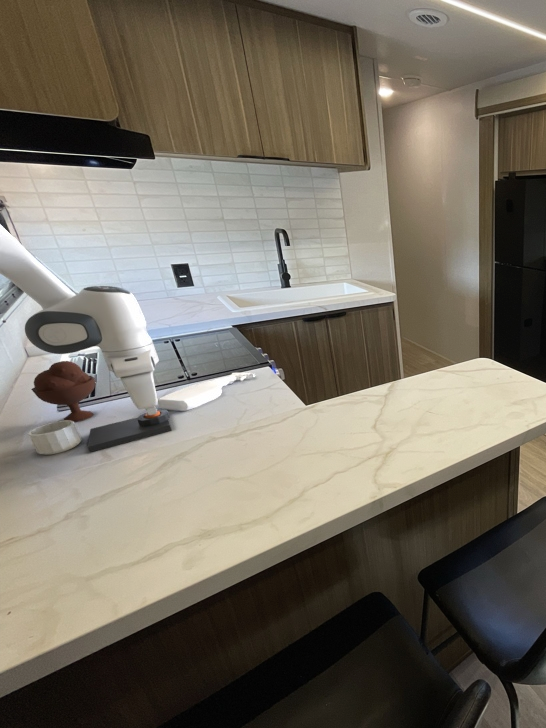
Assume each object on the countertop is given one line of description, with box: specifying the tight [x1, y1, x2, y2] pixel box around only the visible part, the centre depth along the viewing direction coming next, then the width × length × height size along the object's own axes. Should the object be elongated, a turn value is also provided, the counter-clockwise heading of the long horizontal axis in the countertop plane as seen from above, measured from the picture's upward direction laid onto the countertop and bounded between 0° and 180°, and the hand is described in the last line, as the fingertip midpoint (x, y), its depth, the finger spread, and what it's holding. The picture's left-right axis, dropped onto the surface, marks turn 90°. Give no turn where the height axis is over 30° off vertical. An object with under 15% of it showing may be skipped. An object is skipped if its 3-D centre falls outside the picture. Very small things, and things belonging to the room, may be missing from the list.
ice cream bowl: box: [31, 360, 96, 423], centre depth 100 cm, size 11×11×15 cm
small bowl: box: [27, 419, 82, 456], centre depth 88 cm, size 7×7×5 cm
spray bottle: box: [157, 372, 256, 412], centre depth 116 cm, size 3×11×24 cm
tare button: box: [145, 411, 160, 418], centre depth 96 cm, size 3×3×2 cm
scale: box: [87, 409, 172, 453], centre depth 94 cm, size 14×11×3 cm
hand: (152, 412), depth 96 cm, fingers closed, pressing on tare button
